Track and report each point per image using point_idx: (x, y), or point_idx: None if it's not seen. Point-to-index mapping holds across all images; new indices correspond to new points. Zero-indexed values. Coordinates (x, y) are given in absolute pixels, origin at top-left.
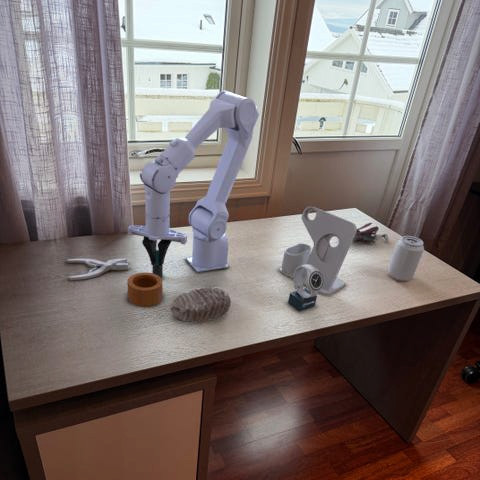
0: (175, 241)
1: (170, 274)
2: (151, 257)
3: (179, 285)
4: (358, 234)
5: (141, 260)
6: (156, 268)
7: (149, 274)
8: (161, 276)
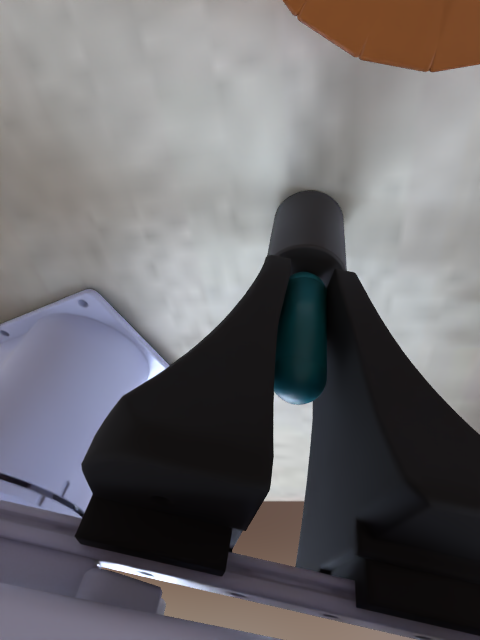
0: (6, 507)
1: (230, 262)
2: (364, 320)
3: (142, 133)
4: None
5: None
6: (312, 242)
7: (410, 5)
8: (278, 214)
